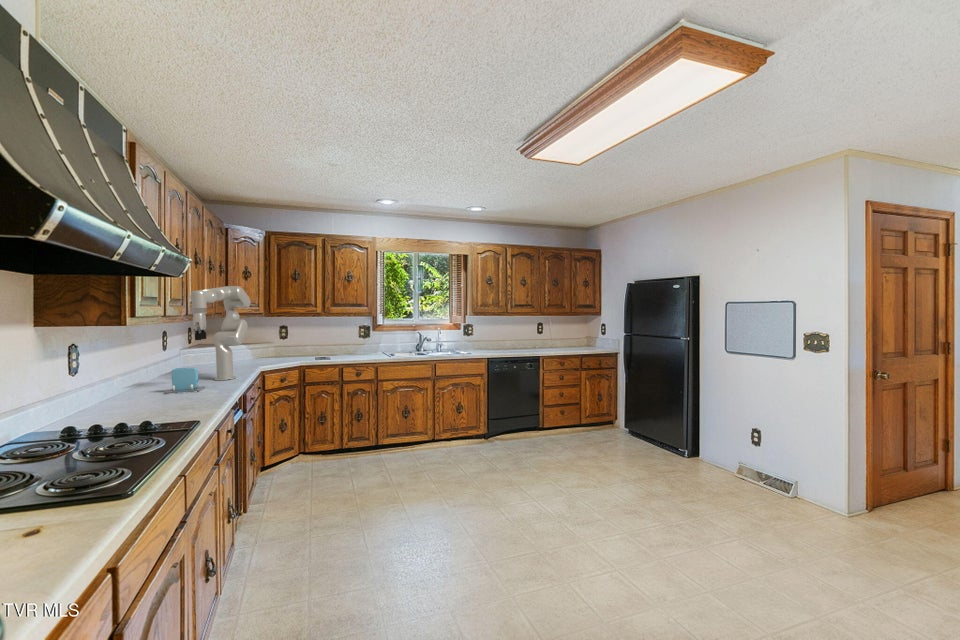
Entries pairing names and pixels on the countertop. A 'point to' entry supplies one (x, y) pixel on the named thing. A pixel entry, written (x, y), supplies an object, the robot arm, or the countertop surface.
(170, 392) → the pin tray
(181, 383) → the light blue rounded slab
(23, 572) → the countertop surface
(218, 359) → the robot arm
